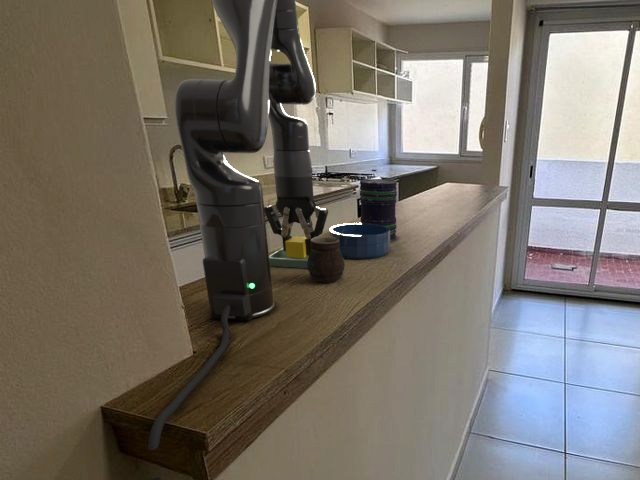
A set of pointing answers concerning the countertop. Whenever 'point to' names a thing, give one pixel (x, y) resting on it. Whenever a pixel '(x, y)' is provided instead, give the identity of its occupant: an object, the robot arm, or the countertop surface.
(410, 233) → the countertop surface
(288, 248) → the sponge
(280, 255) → the soap dish
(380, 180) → the storage jar
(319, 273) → the mate gourd
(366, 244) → the bowl
